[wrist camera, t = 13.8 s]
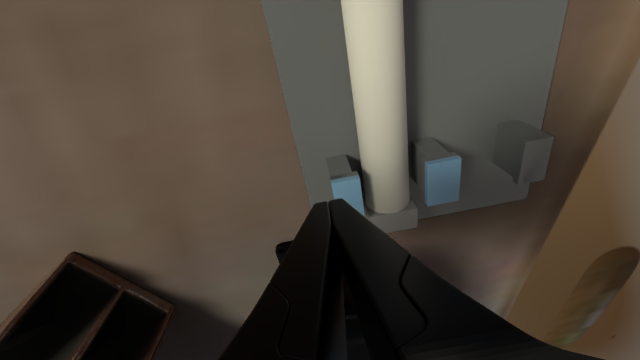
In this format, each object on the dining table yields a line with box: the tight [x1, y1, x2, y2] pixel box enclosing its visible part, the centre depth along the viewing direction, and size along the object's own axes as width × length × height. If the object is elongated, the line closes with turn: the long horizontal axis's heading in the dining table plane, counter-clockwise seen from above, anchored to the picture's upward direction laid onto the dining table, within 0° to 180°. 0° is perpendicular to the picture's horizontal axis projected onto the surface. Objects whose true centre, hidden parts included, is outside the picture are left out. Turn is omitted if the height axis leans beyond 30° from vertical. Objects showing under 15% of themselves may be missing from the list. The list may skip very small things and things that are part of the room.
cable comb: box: [261, 0, 568, 219], centre depth 16 cm, size 17×25×4 cm
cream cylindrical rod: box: [341, 0, 418, 233], centre depth 16 cm, size 21×3×3 cm, turn 10°
